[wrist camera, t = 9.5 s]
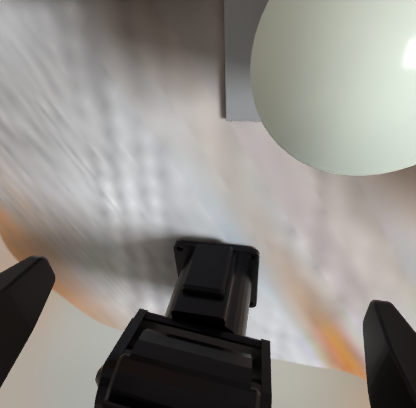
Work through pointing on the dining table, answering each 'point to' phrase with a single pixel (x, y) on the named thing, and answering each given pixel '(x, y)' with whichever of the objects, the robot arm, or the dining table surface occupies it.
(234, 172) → the dining table surface
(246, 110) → the slate mat
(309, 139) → the cylinder with square knob
